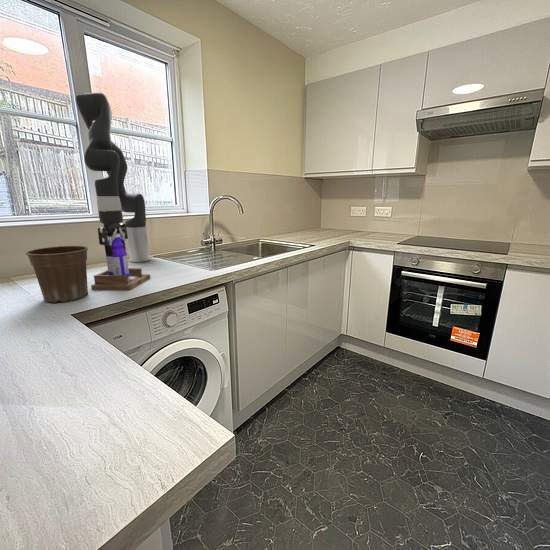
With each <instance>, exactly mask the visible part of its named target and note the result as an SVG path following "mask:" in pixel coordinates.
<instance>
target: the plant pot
mask: <svg viewBox="0 0 550 550" xmlns="http://www.w3.org/2000/svg"><path fill="white" fill-rule="evenodd" d="M88 250H89V247H88V246H83V245H60V246H49V247H41V248H34V249H31V250H28V251H25V255H26V256H27V257H28V259H29V261H30V265H31V266H32V267H33V269H34V270H33V271H34V274H35V277H36V279H37V282H38V285H39V287H40V291H41V294H42V295H41V296H42V298H43V300H44V301H45V302H47V303H54V304H55V303H58V302H63V303H67V302H72V301H77V300H80V299H82V298H85V297H87V295H88V294H89V290H88V273H87V272H88V271H87V269H88V268H87V260H88Z"/></svg>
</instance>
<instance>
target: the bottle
mask: <svg viewBox="0 0 550 550" xmlns="http://www.w3.org/2000/svg"><path fill="white" fill-rule="evenodd" d="M108 242H109V240H108ZM111 246H112V250H113V256H106V255H105V259H106V266H107V270H108V274H109V275H122V276H127V278H128V277H129V268H130V267H129V263H128V262H129V260H128V255H127V254H128V253H127V250H126V251H125V249H124V248H123V246H124V244H123V243H122V241H121V238H120V233H117V234H115V238H114V240H113V241H112V244H111Z"/></svg>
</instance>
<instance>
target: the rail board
mask: <svg viewBox="0 0 550 550" xmlns="http://www.w3.org/2000/svg"><path fill="white" fill-rule="evenodd" d="M128 268H129V277H128V278H127V276H122V275H109V274H108V269H106V270H105V271H102V272H99V273H97V274H95V275H93V280H94V283H93V284H91V285H90V287H91V290H100V291H103V290H104V291H105V290H106V291H131V290H133V289H134V288H136V287H138V286H139V285H140V284H143V283H144V282H146V281H147V280H149V279H151V275H150V274H149V273H148V274H147V273H143V272H142V268H140V267H139V268H135V267H134V268H131V267H128Z"/></svg>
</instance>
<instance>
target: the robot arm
mask: <svg viewBox="0 0 550 550" xmlns="http://www.w3.org/2000/svg"><path fill="white" fill-rule="evenodd" d="M75 104H76V106H77V110H78V112H79V113H80V116H81V118H82V119H83V121H84V122H83V123H84V124H85V125H86V128H87V130H88V133H87V134H88V136H87V137H88V146H87V148H86V150H85V152H84V157H83V158H84V163H85V164H84V165H85V166H86V167H87V168H88V169H89V170H90V171H92V172H106V174H107V175H108V176H106V177H101V178H97V179H95V180H94V188H95V194H96V206H97V212H98V219H99V223H100V224H102V225H103V227H97V235H98V243H99V245H101V246H103V247H104V251H105V257H106V256H113V250H112V246H111V244H112V241H113V240H114V238H115V234H117V233H120V238H121V241H122V243H123V244H124V246H123V248H124V249H125V251H126V252H127V249H128V255H129V256H128V257H129V261H130V262H132V263H142V262H147V261H150V258H151V256H150V247H149V240H148V233H147V214H146V213H147V212H146V201H145V198H144V195H142V193H139V192H137V193H134V192H132V193H131V192H129V193H128V192H127V191H126V187H125V178H126V175H127V173H128V172H127V171H128V163H127V161H126V158H125V155H124V153H123V151H122V149H121V148H120V147H119V146H118V145H117V144H116V143H115V142H113V141H112V139H111V129H112V128H111V127H112V119H113V118H112V117H113V114H112V113H113V111H112V107H111V105H110V102H109V99H108V97H107V96H106V95H105V94H104V93H102V92H86V93H78V94H76V95H75ZM123 213H128V214H129V213H130V214H132V213H133V214H134V216H133V217H132V218H130V219H128V220H126V221H125V222H124V216H123ZM123 222H124V223H123ZM108 240H109V242H108ZM126 240H127V247H128V248H127V249H126V243H125V242H126Z"/></svg>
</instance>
